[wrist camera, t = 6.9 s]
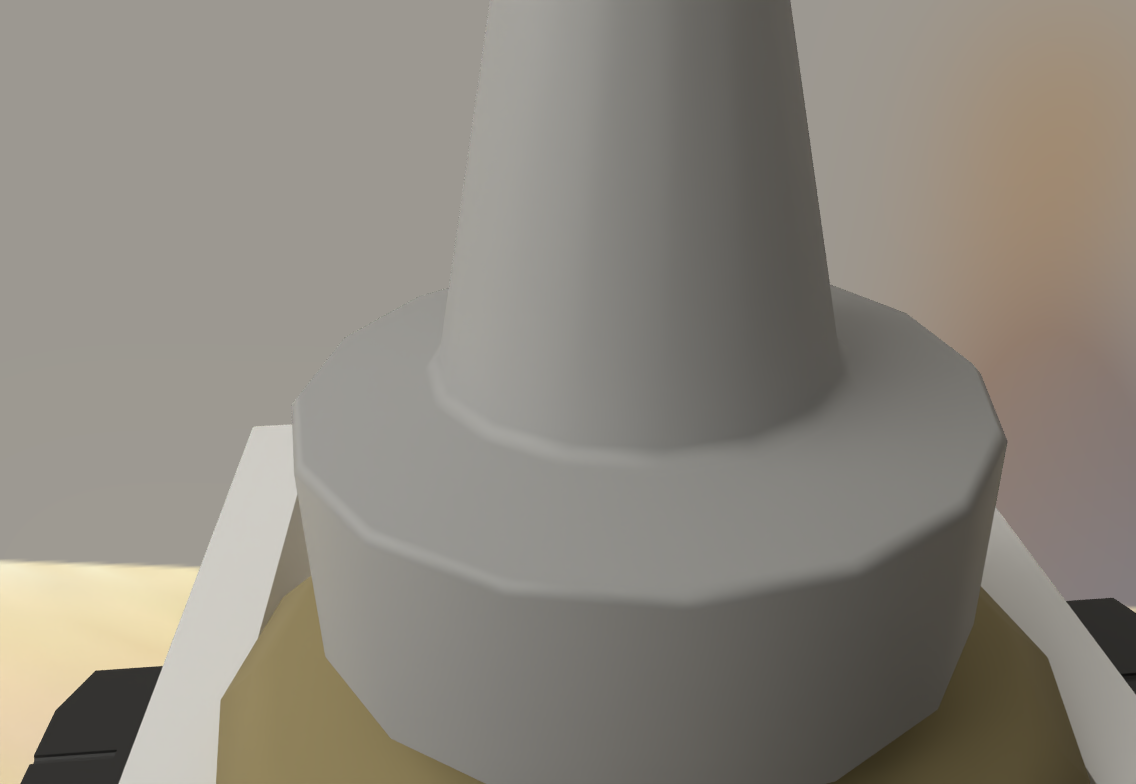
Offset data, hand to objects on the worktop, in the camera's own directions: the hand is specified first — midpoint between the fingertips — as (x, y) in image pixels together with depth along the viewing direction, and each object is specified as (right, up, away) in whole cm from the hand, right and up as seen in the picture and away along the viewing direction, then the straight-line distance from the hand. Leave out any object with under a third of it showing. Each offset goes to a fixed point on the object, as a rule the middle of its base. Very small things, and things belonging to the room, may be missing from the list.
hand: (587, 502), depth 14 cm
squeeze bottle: (+1, -11, 0) cm, 11 cm away
